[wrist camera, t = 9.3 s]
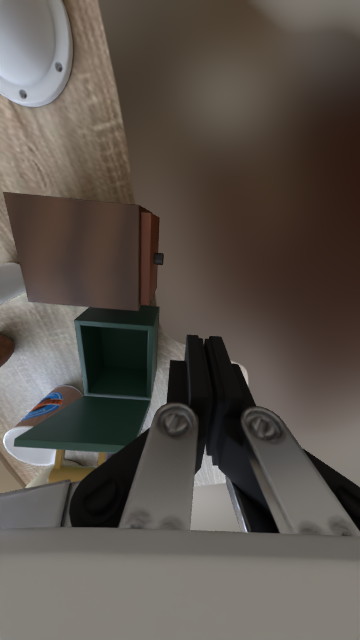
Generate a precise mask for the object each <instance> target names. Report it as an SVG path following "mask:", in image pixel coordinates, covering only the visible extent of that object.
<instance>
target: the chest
mask: <svg viewBox="0 0 360 640" xmlns="http://www.w3.org/2000/svg"><path fill="white" fill-rule="evenodd" d="M74 323H75V330H76V337H77V344H78V352H79V359H80V366H81V373H82V380H83V387H84V394H85V396H96V397H110V398H124V399H138V400H151V397H152V392H153V386H154V381H155V375H156V368H157V347H158V326H159V307H155V306H143V305H141V307H140V309H139V311H132V310H120V309H108V308H96V307H89V308H88V309H87V310H85V311H84V312H83V313H82V314H81V315H79V316H78V317H77V318H76V319H75V320H74Z"/></svg>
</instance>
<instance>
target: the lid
mask: <svg viewBox="0 0 360 640" xmlns="http://www.w3.org/2000/svg"><path fill="white" fill-rule="evenodd" d="M150 403H151V400H138V399H124V398H110V397H96V396H82V397H81V398H79V399H78V400H76V401H74V402H73V403H71V404H69V405H68V406H66V407H65V408H63V409H61V410H60V411H58V412H57V413H55V414H53V415H52V416H50V417H48V418H47V419H45V420H44V421H42V422H40V423H39V424H37V425H36V426H34V427H32V428H31V429H29V430H27V431H26V432H24V433H23V434H21V435H19V436H18V437H16V438H15V439H14V445H13V446H14V447H27V448H42V449H56V455H55V462H54V467H53V468H52V470H51V472H50V474H49V477H48V483H53V482H58V481H62V480H67V479H70V480H71V482H75V481H80V480H82V479H84V478H85V477H86V476H87V475H88V474H89V473H90V472H91V471H93V470H94V469H95V468H97V467H98V466H100V465H101V464H102V463H104V462H105V461H106V456H107V453H117V452H118V451H120V450H121V449H122V448H124V447H125V446H126V445H128V444H129V443H130V442H132V441H133V440H134V439H136V438H137V437H138V436H140V433H141V430H142V427H143V424H144V421H145V418H146V416H147V413H148V410H149V407H150ZM65 450H73V451H89V452H99V456H98V465H97V467H89V466H73V465H63V463H64V456H65Z"/></svg>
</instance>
